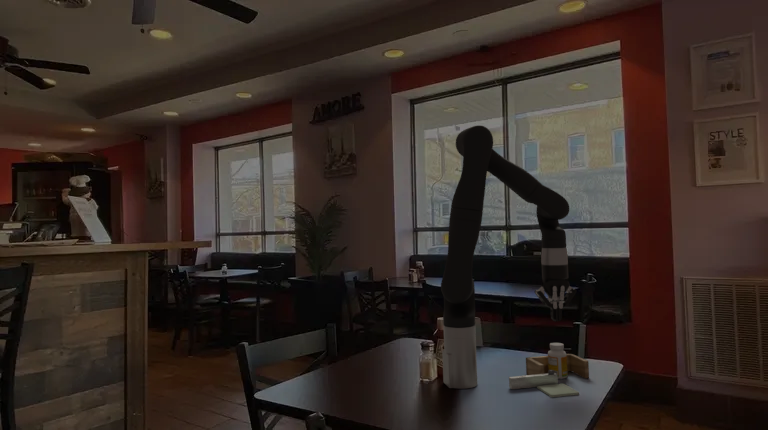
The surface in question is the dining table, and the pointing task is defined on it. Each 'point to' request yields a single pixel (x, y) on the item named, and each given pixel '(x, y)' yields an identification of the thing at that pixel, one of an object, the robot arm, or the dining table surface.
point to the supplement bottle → (558, 360)
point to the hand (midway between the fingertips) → (556, 320)
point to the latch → (533, 380)
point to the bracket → (541, 367)
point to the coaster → (558, 390)
